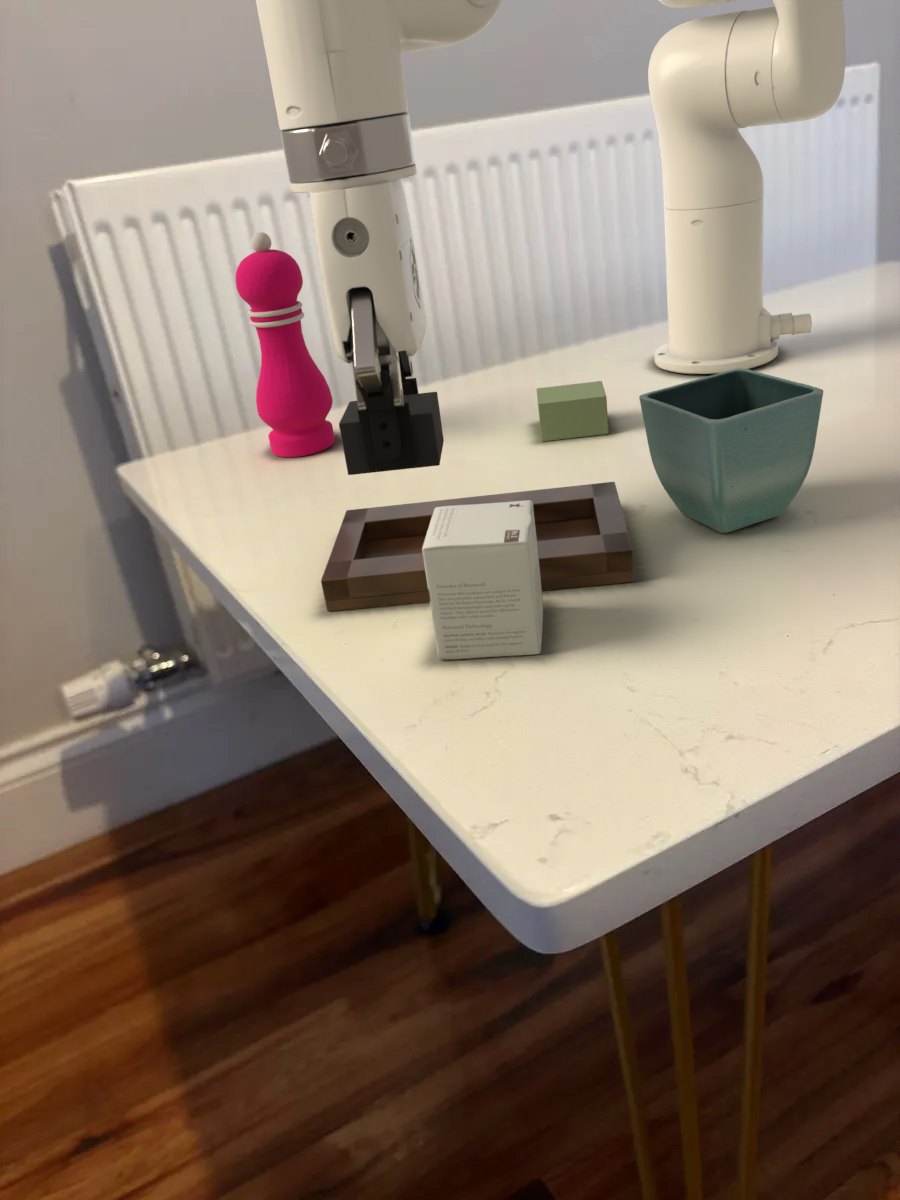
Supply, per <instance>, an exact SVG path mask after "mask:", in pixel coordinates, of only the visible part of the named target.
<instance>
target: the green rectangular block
mask: <svg viewBox="0 0 900 1200" xmlns="http://www.w3.org/2000/svg"><path fill="white" fill-rule="evenodd" d="M536 398H537V400H536V401H537V409H538V420H539V421H538V422H539V430H540V439H541V440H540V441H541V442H548V441H558V440H566V439H567V440H568V439H578V438H584V437H586V438H587V437H593V436H595V437H596V436H602V435H609V434H610V431H609V430H610V429H609V415H608V399H607V398H608V397H607V394H606V390H605V387H604V384H603V381H602V380H596V381H589V382H580V383H571V384H562V385H554V386H553V385H552V386H545V387H537V388H536Z"/></svg>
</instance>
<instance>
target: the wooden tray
mask: <svg viewBox="0 0 900 1200" xmlns="http://www.w3.org/2000/svg"><path fill="white" fill-rule="evenodd" d="M525 500H531V501H532V502H533V510H534V519H535V528H536V537H537V547H538V557H539V567H540V577H541V589H542V592H543V591H553V590H564V589H572V588H584V587H585V588H586V587H593V586H603V585H614V584H623V583H626V584H627V583H634V582H635V579H636V578H635V563H634V562H635V561H634V549H633V545H632V541H631V537H630V533H629V531H628V527H627V522H626V518H625V515H624V511H623V508H622V503H621V501H620V496H619V493H618V488H617V485H616V482H615V481H608V482H606V481H605V482H598V483H597V482H596V483H589V484H579V485H571V486H562V487H560V486H559V487H552V488H543V489H534V490H532V489H531V490H522V491H515V492H505V493H504V492H503V493H497V494H496V493H495V494H494V493H493V494H486V495H485V494H484V495H477V496H467V497H459V498H448V499H439V500H430V501H419V502H410V503H402V504H393V505H384V506H382V505H381V506H374V507H364V508H355V509H354V508H353V509H346V510H345V513H344V515H343V519H342V521H341V525H340V527H339V530H338V533H337V535H336V538H335V541H334V544H333V547H332V549H331V553H330V555H329V558H328V560H327V563H326V565H325V569H324V571H323V574H322V577H321V580H320V583H321V589H322V593H323V598H324V603H325V606H326V611H327V612H336V611H337V612H338V611H346V610H355V609H356V610H357V609H368V608H379V607H388V606H397V605H398V606H400V605H408V604H419V603H427V602H429V603H430V601H429V593H428V586H427V579H426V573H425V566H424V559H423V553H422V547H423V544H424V540H425V537H426V534H427V531H428V528H429V524H430V521H431V518H432V515H433V512H434V509H435V508H436V507H442V506H453V505H471V504H487V503H501V502H513V501H525Z"/></svg>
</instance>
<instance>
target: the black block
mask: <svg viewBox="0 0 900 1200" xmlns="http://www.w3.org/2000/svg"><path fill="white" fill-rule="evenodd" d="M403 398H404V403H406V402H409V406H410V413H411V419H412V426H413V433H414V439H415V446H416V452H417V462H416V464H415V465H414V466H409V467H400V468H391V469H381V470H370V469H369V468H368V467H367V462H366V457H365V451H364V445H363V439H362V434H361V428H360V422H359V416H358V411H357V410H358V404H357V400H351V401H349V402H348V404H347V406H346V409H345V410H344V413H343V414H342V417H341V418H340V421H339V423H338V426H339V428H338V429H339V432H340V437H341V438H340V439H341V444H342V449H343V454H344V459H345V460H344V461H345V466H346V471H347V475H348V476H355V475H363V474H364V475H365V474H371V473H381V472H391V471H400V470H411V469H419V468H428V467H438V466H440V464H441V459H442V453H443V447H444V442H445V440H444V431H443V425H442V418H441V411H440V403H439V395H438V392H437V391H429V392H421V393H418V394H411V395H403Z"/></svg>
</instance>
